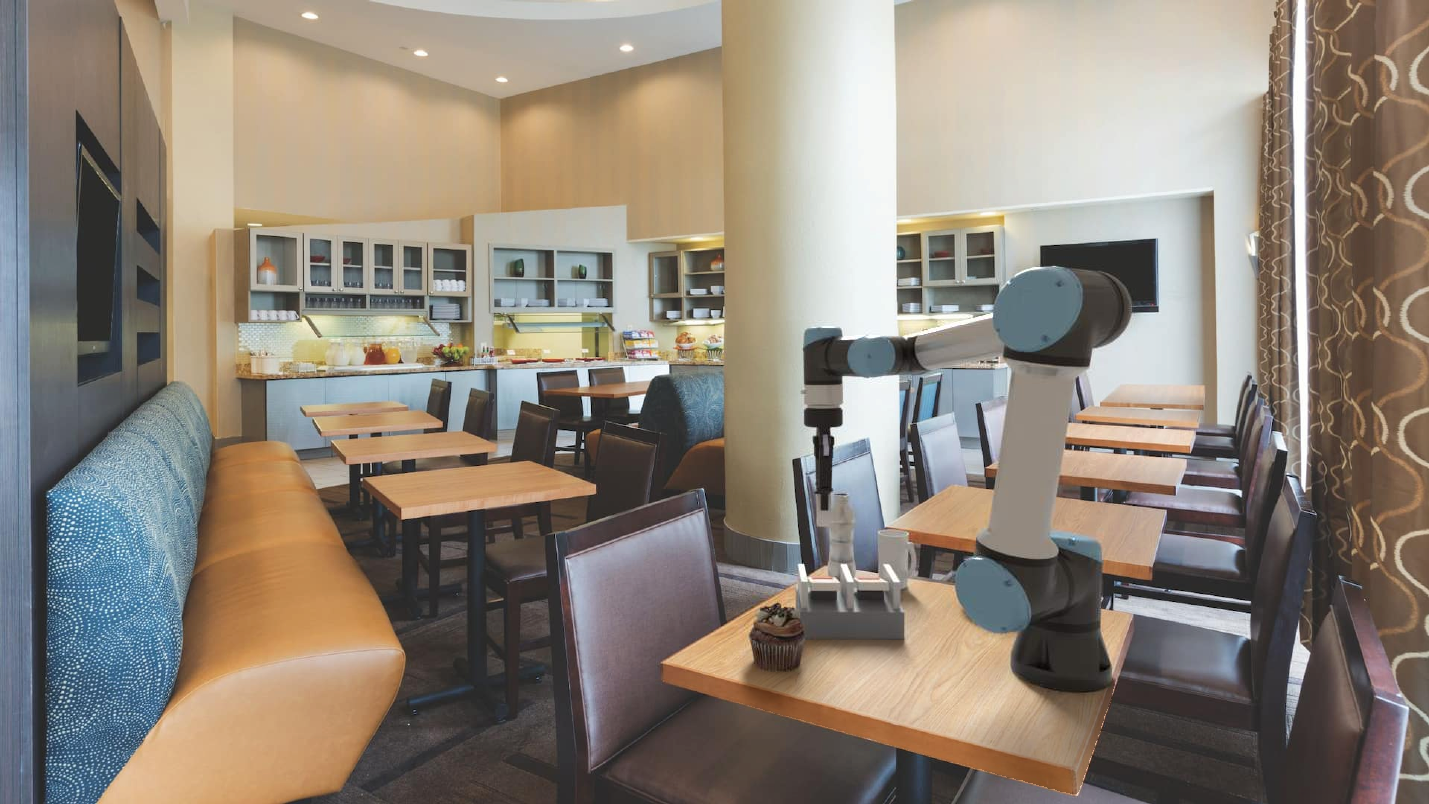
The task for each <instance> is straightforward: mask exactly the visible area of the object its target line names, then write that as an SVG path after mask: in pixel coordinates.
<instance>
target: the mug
mask: <svg viewBox="0 0 1429 804" xmlns="http://www.w3.org/2000/svg"><path fill="white" fill-rule="evenodd" d="M909 535H910V534H909V532H908V531H905V530H901V529H882V530H879V531H878V532H877V558H878V560H877V562H878V563H877V565H878V571H877V573H878V578H881V579H883V564H889V565H890V566H891V568H892V570H893V571H894V573H895V574H896V576H897V578H898V579H899V581H900V590H903V589H906V588H908V581H909V580H910V579H913V577H914V573H915V570H916V568H917V554H916V550H915V547H914V542H909V541H910V540H909V538H910V537H909ZM909 554H910V557H911V558H910V559H911V561H910V562H911V563H910V567H909ZM908 579H909V580H908Z"/></svg>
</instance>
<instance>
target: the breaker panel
mask: <svg viewBox="0 0 1429 804" xmlns="http://www.w3.org/2000/svg"><path fill="white" fill-rule="evenodd" d="M883 580H885V581H887V582H889V590H858V589H857V588H855V587H854V581H853V578H852V576H851V574H850V571H849V569H848V567H847V564H840V581H839V582H840V587H841V591H811V590H810V588H809V586H808V576H807V572H806V567H805V564H804V563H797V585H795V609H798V611H799V618H800V620H801V621H802V624H803V628H804V633H805V639H827V640H828V639H839V640H840V639H842V640H843V639H845V640H846V639H847V640H849V639H850V640H851V639H852V640H857V639H858V640H859V639H860V640H863V639H865V640H905V611H904V609H903V607H902V605H901V589H900V581H899V579H898V578H897V576H896V574H895V573H894V571H893V570H892V568H891V566H890V565H889V564H883Z"/></svg>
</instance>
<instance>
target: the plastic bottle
mask: <svg viewBox="0 0 1429 804" xmlns="http://www.w3.org/2000/svg"><path fill="white" fill-rule="evenodd" d="M832 499H833V500H832V503H834V504H833V505H832V506H831V527H828V532H829V552H828V553H829V556H828V563H827V568H826V569H827V570H826V571H827V574H828V577H835V578H836V579H837V580H838V581H839V582H840V564H847V567H848V569H849V571H850V574H851V576H852V578H856V577H855V576H856V573H857V567H856V561H855V553H854V533H855V526H856V514H855V513H854V511H853V509H852V507H851V506H850V505H849V504H850V503H851V502H850V501H851V499H850V494H849V493H846V492H836V493H833V498H832Z"/></svg>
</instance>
